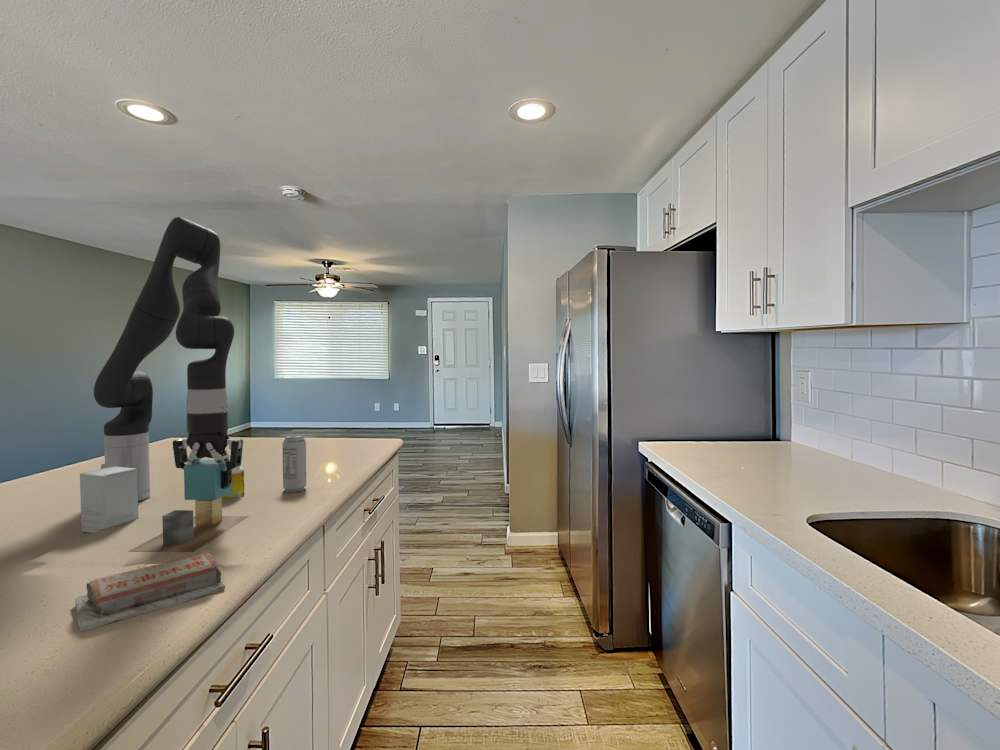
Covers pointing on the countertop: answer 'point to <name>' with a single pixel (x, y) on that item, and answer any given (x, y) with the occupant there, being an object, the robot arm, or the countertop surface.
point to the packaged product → (147, 590)
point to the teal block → (204, 481)
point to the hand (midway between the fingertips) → (209, 487)
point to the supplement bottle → (237, 483)
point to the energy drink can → (294, 463)
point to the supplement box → (108, 498)
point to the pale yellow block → (208, 512)
